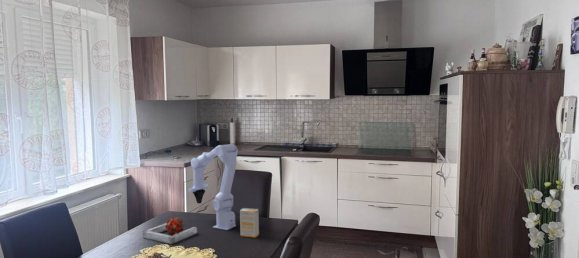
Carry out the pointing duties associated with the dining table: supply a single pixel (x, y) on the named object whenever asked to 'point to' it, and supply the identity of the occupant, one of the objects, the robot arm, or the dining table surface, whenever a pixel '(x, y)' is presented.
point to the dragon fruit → (174, 226)
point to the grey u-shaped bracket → (156, 235)
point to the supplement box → (249, 222)
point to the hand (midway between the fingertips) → (199, 203)
